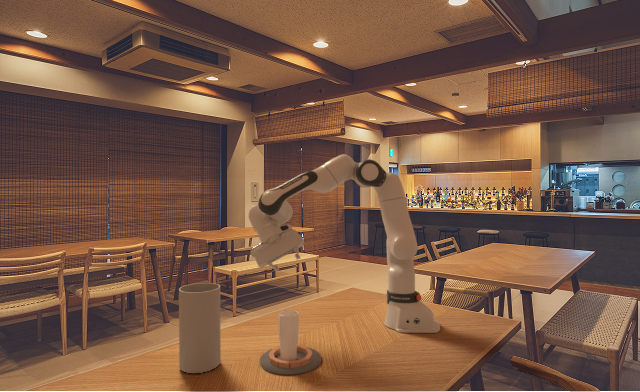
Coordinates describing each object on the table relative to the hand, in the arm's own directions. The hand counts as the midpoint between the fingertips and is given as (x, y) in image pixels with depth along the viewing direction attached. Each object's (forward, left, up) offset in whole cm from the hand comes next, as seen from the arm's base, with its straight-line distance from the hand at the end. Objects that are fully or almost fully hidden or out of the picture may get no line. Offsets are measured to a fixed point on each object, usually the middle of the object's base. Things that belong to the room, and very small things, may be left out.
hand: (288, 264), depth 144 cm
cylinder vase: (+20, +31, -28) cm, 46 cm away
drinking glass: (-7, +22, -27) cm, 35 cm away
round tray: (-7, +21, -27) cm, 35 cm away
